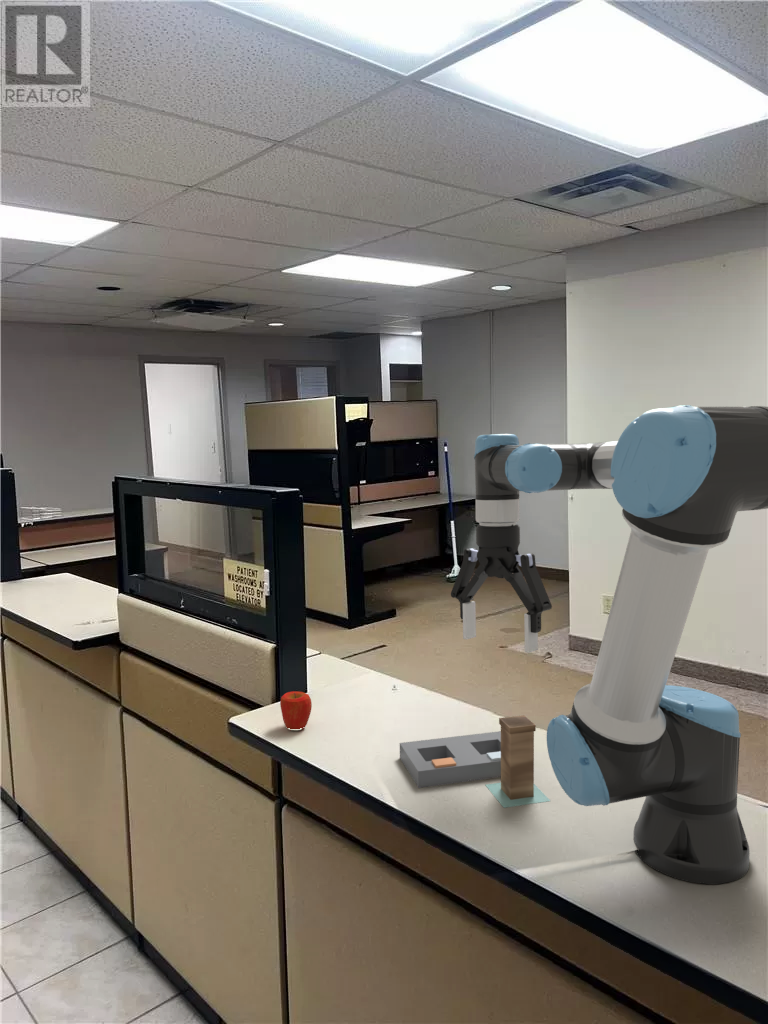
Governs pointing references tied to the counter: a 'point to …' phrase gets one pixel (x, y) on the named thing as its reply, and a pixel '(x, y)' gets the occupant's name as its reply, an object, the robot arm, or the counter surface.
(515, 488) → the robot arm
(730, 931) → the counter surface
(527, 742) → the plug
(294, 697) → the apple
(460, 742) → the port box
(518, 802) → the plate
